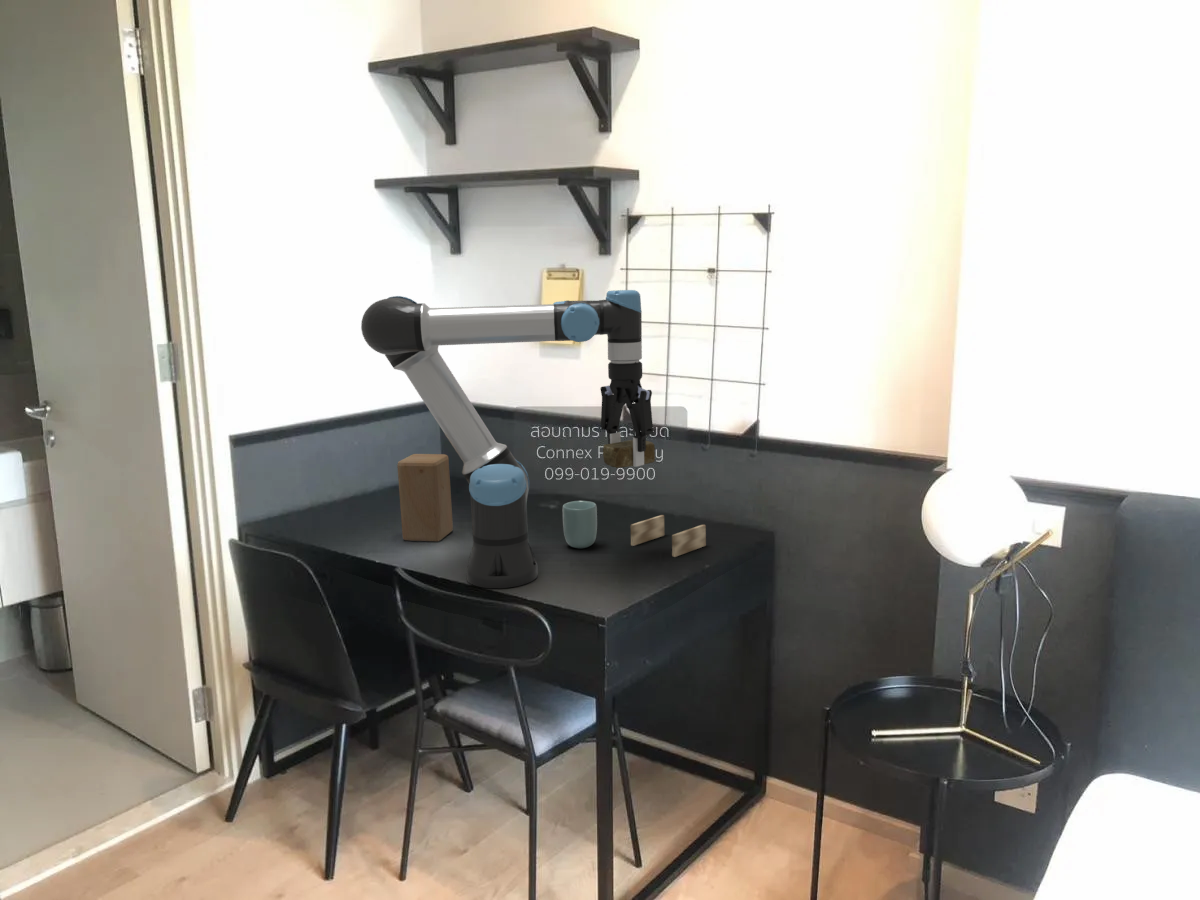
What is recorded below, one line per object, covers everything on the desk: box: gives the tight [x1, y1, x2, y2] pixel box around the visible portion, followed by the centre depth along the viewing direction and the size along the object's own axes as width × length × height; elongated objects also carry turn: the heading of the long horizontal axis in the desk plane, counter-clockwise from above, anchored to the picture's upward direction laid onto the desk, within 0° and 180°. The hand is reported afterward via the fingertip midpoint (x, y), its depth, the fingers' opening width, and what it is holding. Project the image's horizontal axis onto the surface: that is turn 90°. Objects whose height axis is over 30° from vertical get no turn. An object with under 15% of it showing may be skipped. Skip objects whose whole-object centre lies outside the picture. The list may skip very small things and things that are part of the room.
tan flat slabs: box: [630, 514, 707, 558], centre depth 214 cm, size 11×14×5 cm
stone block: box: [602, 439, 656, 469], centre depth 207 cm, size 6×12×5 cm, turn 123°
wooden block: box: [396, 453, 454, 543], centre depth 226 cm, size 10×10×20 cm
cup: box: [562, 500, 598, 549], centre depth 215 cm, size 8×8×10 cm
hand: (627, 463), depth 207 cm, fingers closed on stone block, 6 cm apart
